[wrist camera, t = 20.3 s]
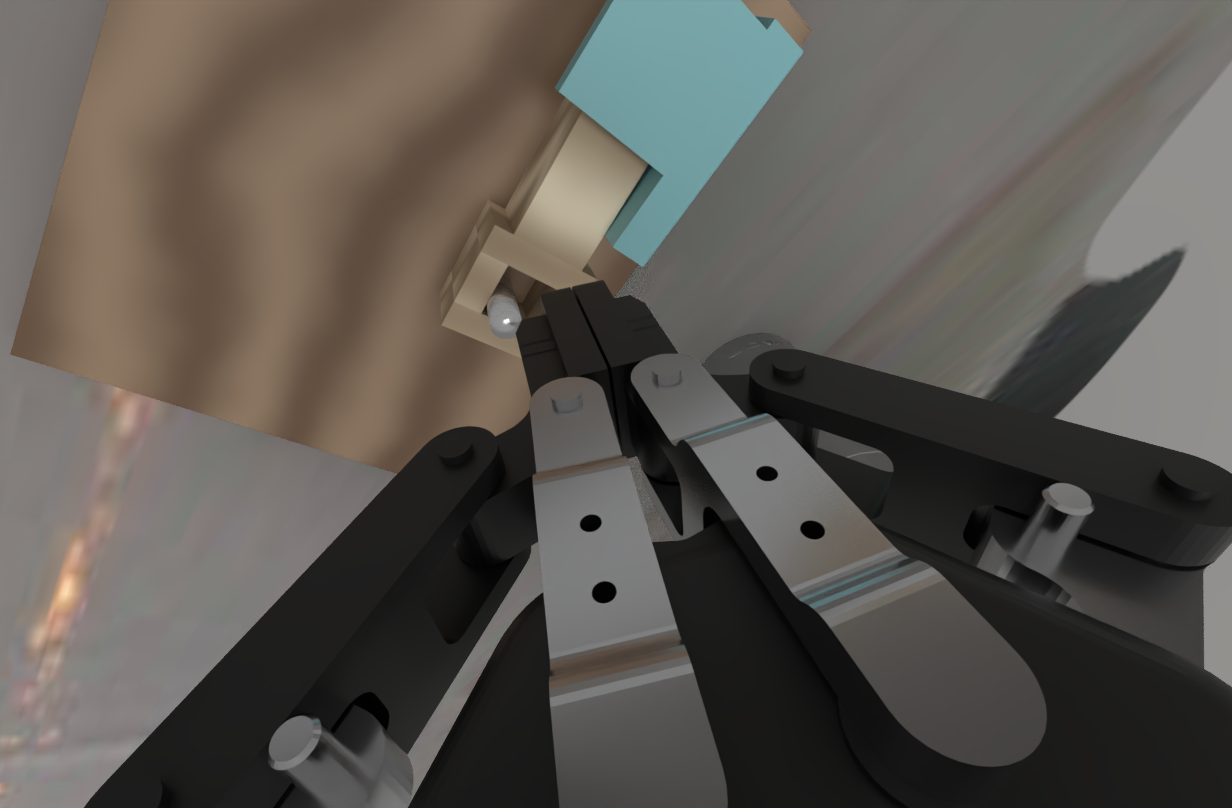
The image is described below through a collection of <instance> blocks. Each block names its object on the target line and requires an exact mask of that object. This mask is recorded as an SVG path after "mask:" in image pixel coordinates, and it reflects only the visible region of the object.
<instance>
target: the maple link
mask: <svg viewBox="0 0 1232 808" xmlns="http://www.w3.org/2000/svg"><path fill="white" fill-rule="evenodd" d="M647 166H648V163H647V162H646V161H645V160H643V159H642V158H641V157H640V156H638V155H637V154H636V153H635V152H633V151H632V150H631V149H630V148H628V147H627V146H626V145H625V144H623V143H622V142H621V141H620V140H618V139H617V138H616V137H615V136H614V135H612V134H611V133H610V132H609V131H607V130H606V129H605V128H604V127H602V126H601V125H600V124H599V123H597V122H596V121H595V120H594V119H592V118H591V117H590V116H589V115H587V114H586V113H585V112H584V111H582V110H581V109H580V108H579V107H577V106H576V105H575V104H574V103H572V102H571V101H570V100H569V99H567V98H566V97H565V98H564V100H563V102H562V104H561V106H560V108H559V109H558V111H557V113H556V115H555V117H554V119H553V121H552V122H551V124H550V126H549V128H548V130H547V132H546V134H545V136H544V137H543V139H542V141H541V143H540V145H539V147H538V149H537V150H536V152H535V154H534V156H533V158H532V160H531V162H530V163H529V165H528V167H527V169H526V171H525V173H524V175H523V176H522V178H521V180H520V182H519V184H518V186H517V188H516V190H515V191H514V193H513V195H512V197H511V199H510V201H509V203H508V204H507V206H506V208H505V209H504V208H502V207H501V206H499V205H497V204H495V203H493V202H492V201H490V200H488V201H487V203H486V205H485V207H484V209H483V211H482V213H481V214H480V216H479V218H478V220H477V222H476V224H475V226H474V228H473V230H472V232H471V234H470V236H469V237H468V239H467V241H466V243H465V245H464V247H463V249H462V251H461V253H460V255H459V257H458V259H457V261H456V262H455V264H454V266H453V268H452V270H451V272H450V274H449V276H448V278H447V280H446V282H445V284H444V286H443V287H442V289H441V291H440V303H441V325H442V326H445V327H447V328H449V329H452V330H454V331H457V332H459V333H461V334H464V335H466V336H469V337H471V338H474V339H476V340H478V341H481V342H483V343H486V344H488V345H491V346H493V347H495V348H498V349H500V350H503V351H505V352H507V353H510V354H512V355H515V356H517V357H520V358H521V353H520V349H519V345H518V341H517V337H516V336H515V337H513V338H511V339H501V338H499V337H497V336H495V335H494V334H493V333H492V331H491V328H490V323H489V317H488V312H487V306H486V304H487V302H488V300H489V299H490V297H491V295H492V293H493V292H494V290H495V288H496V286H497V284H498V283H499V281H500V279H501V277H502V276H503V274H504V272H505V270H506V268H507V267H508V265H509V266H511V267H513V268H515V269H517V270H519V271H521V272H523V273H525V274H527V275H529V276H531V277H533V278H535V279H536V281H535V282H534V284H533V286H532V287H531V289H530V291H529V292H528V294H527V296H526V297H525V299H524V301H523V302H522V303H520V302H518V301H517V304H518V307H519V311H520V315H521V318H522V320H523V319H528V318H532V317H536V316H541V315H543V312H542V308H541V303H540V298H539V294H541V293H545V292H550V291H554V290H559V289H563V288H568V287H570V288H571V290H572V286H576V285H581V284H585V283H590V282H595V281H597V278H596V276H595V275H594V273H593V271H592V269H591V267H590V266H589V264H588V260H589V259H590V257H591V256H592V254H593V252H594V251H595V249H596V248H597V246H598V244H599V243H600V241H601V240H602V238H603V236H604V235H605V233H606V232H607V230H608V228H609V227H610V225H611V224H612V222H613V220H614V219H615V217H616V216H617V214H618V212H619V211H620V209H621V208H622V206H623V204H624V203H625V201H626V200H627V198H628V196H629V195H630V193H631V192H632V190H633V188H634V187H635V185H636V184H637V182H638V180H639V179H640V177H641V176H642V174H643V172H644V171H645V169H646V168H647Z"/></svg>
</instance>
